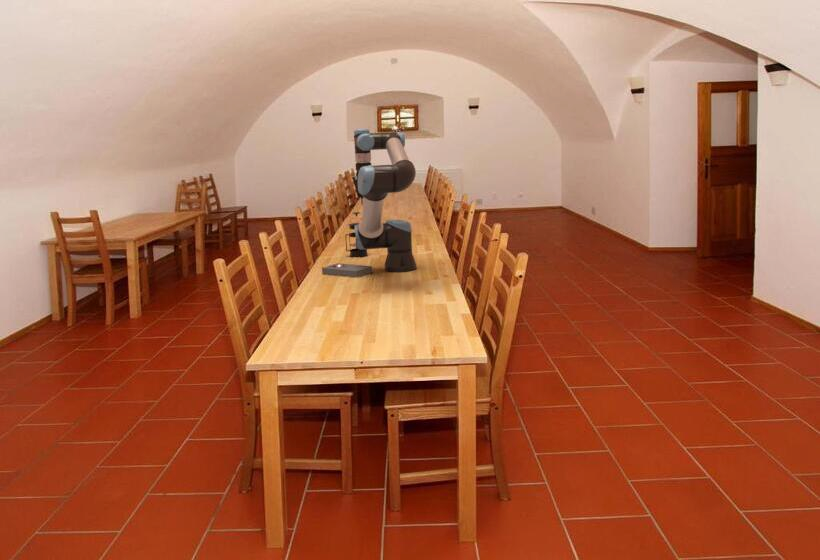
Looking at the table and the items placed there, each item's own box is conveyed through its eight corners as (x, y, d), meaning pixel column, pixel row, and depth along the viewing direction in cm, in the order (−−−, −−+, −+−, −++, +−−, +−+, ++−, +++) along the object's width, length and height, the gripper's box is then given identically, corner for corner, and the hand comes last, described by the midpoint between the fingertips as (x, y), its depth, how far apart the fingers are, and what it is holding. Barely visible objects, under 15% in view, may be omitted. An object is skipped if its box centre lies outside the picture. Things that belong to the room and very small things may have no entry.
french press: (368, 253, 390) (366, 210, 385) (369, 256, 381) (367, 212, 376) (346, 255, 388) (343, 212, 383) (347, 258, 379) (344, 214, 374)
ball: (337, 264, 346) (340, 272, 346) (332, 266, 343) (334, 274, 343) (344, 262, 344) (346, 270, 344) (338, 264, 341) (341, 272, 341)
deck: (372, 272, 341) (371, 266, 341) (356, 277, 331) (356, 271, 331) (338, 269, 352) (337, 263, 351) (322, 274, 342) (321, 267, 341)
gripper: (347, 162, 349) (350, 212, 354) (369, 162, 342) (372, 212, 347) (357, 161, 355) (359, 210, 360) (379, 161, 348) (381, 211, 353)
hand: (365, 211), depth 353 cm, fingers closed
